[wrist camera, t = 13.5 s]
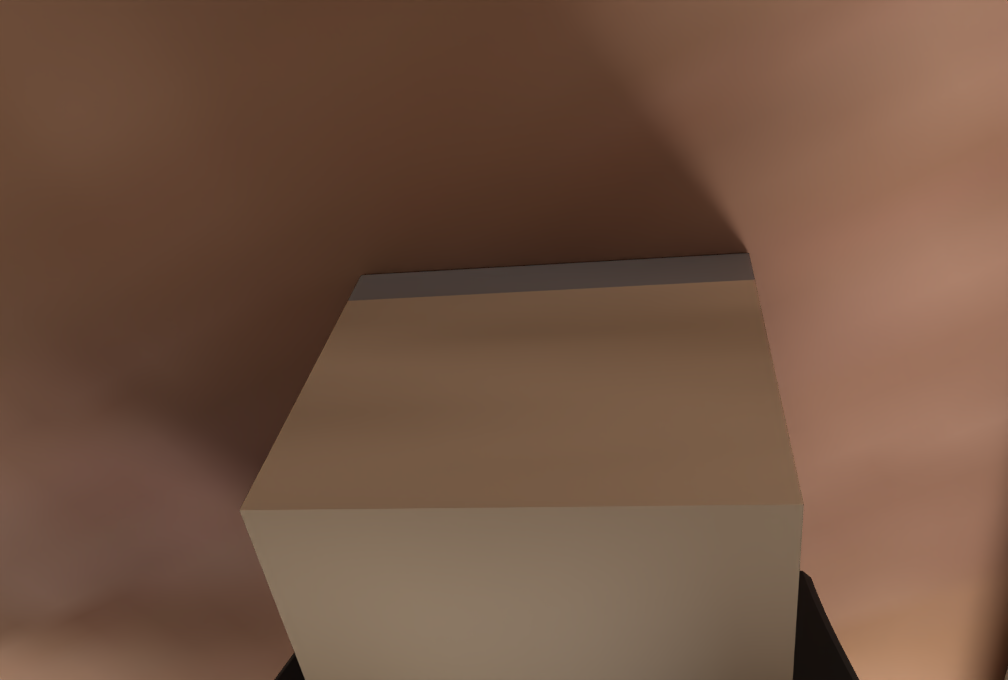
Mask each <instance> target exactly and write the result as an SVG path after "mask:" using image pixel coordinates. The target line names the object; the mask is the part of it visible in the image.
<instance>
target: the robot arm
mask: <svg viewBox="0 0 1008 680" xmlns="http://www.w3.org/2000/svg"><path fill="white" fill-rule="evenodd" d="M275 680H305V678H304V676H303V673H302V670H301V668H300V665H299V663H298V660H297V657H296V655H295V652H294V654H293V655H292V657H291V658H290V659H289V661H288V662H287V663H286V665H285V666H284V668H283V669H282V670H281V672H280V673H279V674H278V676H277V677H276V678H275ZM793 680H859V678H858V677H857V675H856V673H855V671H854V669H853V667H852V665H851V663H850V661H849V660H848V658H847V656H846V654H845V652H844V650H843V648H842V646H841V644H840V642H839V640H838V638H837V636H836V634H835V632H834V630H833V628H832V626H831V624H830V622H829V619H828V617H827V615H826V613H825V611H824V608H823V606H822V604H821V601H820V599H819V597H818V594H817V592H816V589H815V587H814V584H813V581H812V579H811V577H809V576H808V575H807V574H806V573H804V572H803V571H799V587H798V602H797V618H796V634H795V650H794V666H793Z"/></svg>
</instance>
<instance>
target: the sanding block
mask: <svg viewBox="0 0 1008 680" xmlns="http://www.w3.org/2000/svg"><path fill="white" fill-rule="evenodd" d="M803 507H804V504H803V499H802V494H801V490H800V485H799V481H798V476H797V471H796V467H795V462H794V458H793V453H792V448H791V444H790V439H789V435H788V430H787V425H786V421H785V416H784V412H783V407H782V402H781V398H780V393H779V389H778V384H777V380H776V375H775V370H774V366H773V361H772V357H771V352H770V347H769V343H768V338H767V334H766V329H765V324H764V320H763V315H762V311H761V306H760V301H759V297H758V292H757V288H756V283H755V278H754V274H753V269H752V265H751V260H750V255H749V253H742V254H725V255H707V256H690V257H672V258H655V259H637V260H620V261H602V262H585V263H567V264H550V265H532V266H515V267H497V268H480V269H462V270H445V271H427V272H409V273H392V274H374V275H361V277H360V278H359V280H358V282H357V284H356V286H355V288H354V290H353V292H352V294H351V296H350V298H349V300H348V302H347V304H346V305H345V307H344V309H343V311H342V313H341V315H340V317H339V319H338V321H337V323H336V325H335V327H334V329H333V331H332V332H331V334H330V336H329V338H328V340H327V342H326V344H325V346H324V348H323V350H322V352H321V354H320V356H319V358H318V360H317V361H316V363H315V365H314V367H313V369H312V371H311V373H310V375H309V377H308V379H307V381H306V383H305V385H304V387H303V388H302V390H301V392H300V394H299V396H298V398H297V400H296V402H295V404H294V406H293V408H292V410H291V412H290V414H289V416H288V417H287V419H286V421H285V423H284V425H283V427H282V429H281V431H280V433H279V435H278V437H277V439H276V441H275V443H274V444H273V446H272V448H271V450H270V452H269V454H268V456H267V458H266V460H265V462H264V464H263V466H262V468H261V470H260V471H259V473H258V475H257V477H256V479H255V481H254V483H253V485H252V487H251V489H250V491H249V493H248V495H247V497H246V499H245V500H244V502H243V504H242V506H241V508H240V510H239V511H240V513H241V516H242V518H243V521H244V523H245V526H246V529H247V531H248V534H249V536H250V539H251V541H252V544H253V547H254V549H255V552H256V554H257V557H258V560H259V562H260V565H261V567H262V570H263V572H264V575H265V578H266V580H267V583H268V585H269V588H270V590H271V593H272V596H273V598H274V601H275V603H276V606H277V609H278V611H279V614H280V616H281V619H282V621H283V624H284V627H285V629H286V632H287V634H288V637H289V639H290V642H291V645H292V647H293V650H294V652H295V655H296V657H297V660H298V663H299V665H300V668H301V670H302V673H303V676H304V678H305V680H793V666H794V650H795V634H796V618H797V602H798V587H799V571H800V555H801V539H802V523H803Z"/></svg>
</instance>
